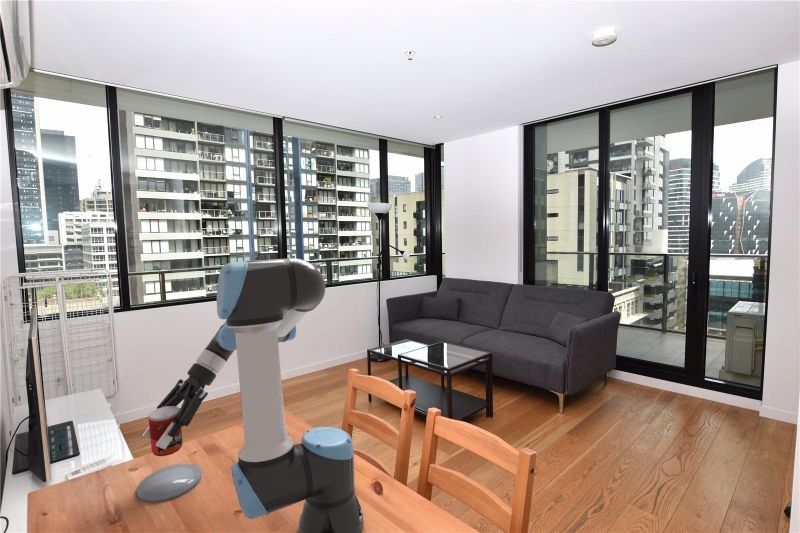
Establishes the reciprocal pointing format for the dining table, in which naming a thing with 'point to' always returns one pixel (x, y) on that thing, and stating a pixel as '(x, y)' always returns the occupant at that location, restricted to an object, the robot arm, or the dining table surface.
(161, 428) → the canned food
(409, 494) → the dining table surface
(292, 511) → the dining table surface
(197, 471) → the slate plate
